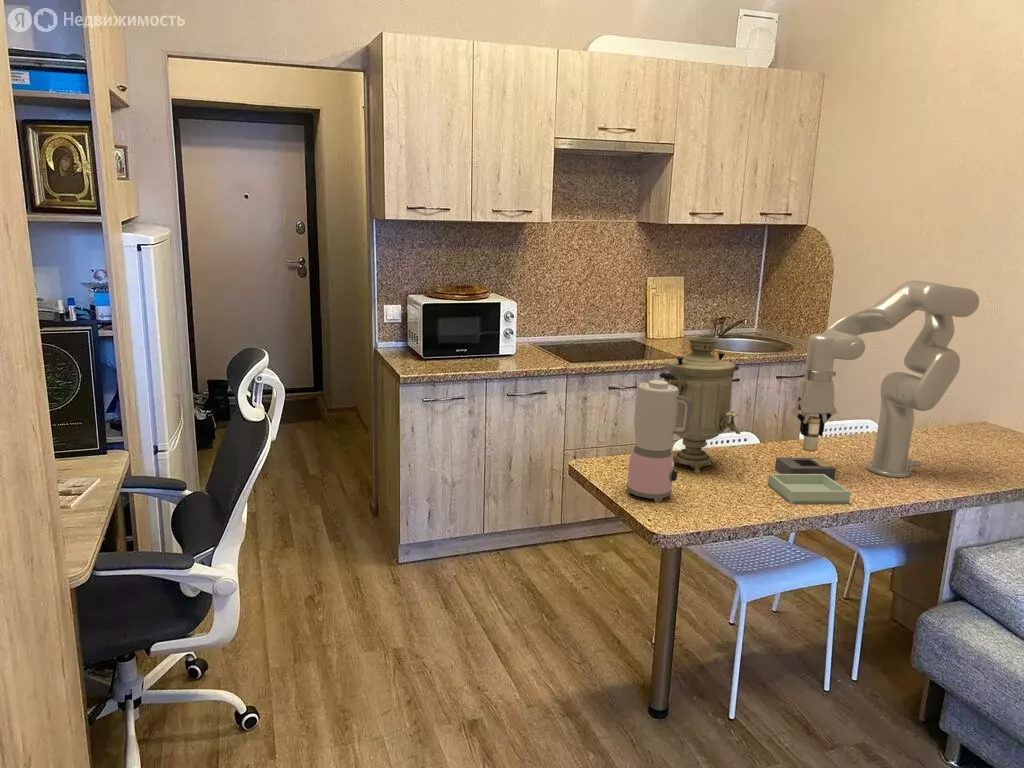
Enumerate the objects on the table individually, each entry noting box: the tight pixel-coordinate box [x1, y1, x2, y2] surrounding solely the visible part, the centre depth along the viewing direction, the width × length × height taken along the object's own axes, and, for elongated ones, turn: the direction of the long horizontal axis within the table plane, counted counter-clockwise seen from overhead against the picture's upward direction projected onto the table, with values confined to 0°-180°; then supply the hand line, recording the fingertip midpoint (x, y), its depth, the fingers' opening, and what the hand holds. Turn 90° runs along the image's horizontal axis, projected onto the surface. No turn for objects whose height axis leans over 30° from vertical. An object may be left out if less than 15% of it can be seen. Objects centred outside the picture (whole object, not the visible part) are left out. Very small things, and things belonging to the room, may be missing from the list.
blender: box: [626, 379, 691, 503], centre depth 200 cm, size 16×12×32 cm
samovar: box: [658, 336, 741, 475], centre depth 222 cm, size 30×26×40 cm
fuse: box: [802, 415, 821, 453], centre depth 222 cm, size 4×4×10 cm
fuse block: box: [774, 456, 837, 481], centre depth 224 cm, size 14×10×4 cm
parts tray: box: [767, 473, 851, 505], centre depth 209 cm, size 17×14×4 cm
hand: (811, 434), depth 222 cm, fingers closed on fuse, 4 cm apart
